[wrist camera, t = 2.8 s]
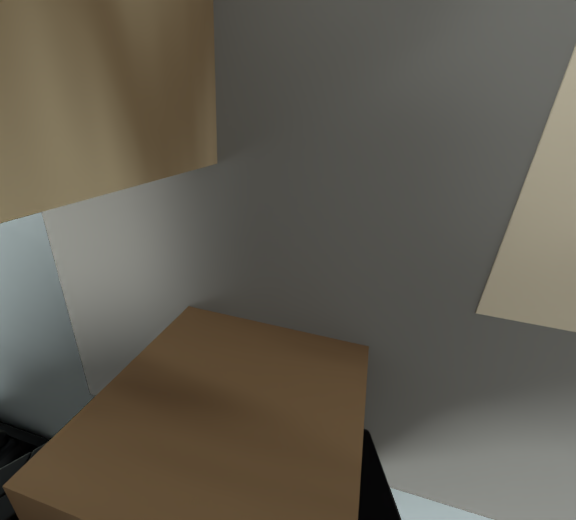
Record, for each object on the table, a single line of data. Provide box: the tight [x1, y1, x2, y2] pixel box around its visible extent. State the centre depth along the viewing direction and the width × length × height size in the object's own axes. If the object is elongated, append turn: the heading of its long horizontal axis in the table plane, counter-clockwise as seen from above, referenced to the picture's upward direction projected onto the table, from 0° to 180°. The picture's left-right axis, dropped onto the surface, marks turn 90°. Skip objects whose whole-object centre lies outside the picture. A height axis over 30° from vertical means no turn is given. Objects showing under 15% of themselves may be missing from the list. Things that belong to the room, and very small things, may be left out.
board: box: [42, 0, 576, 520], centre depth 7 cm, size 14×22×1 cm, turn 86°
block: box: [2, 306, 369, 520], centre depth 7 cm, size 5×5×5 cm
